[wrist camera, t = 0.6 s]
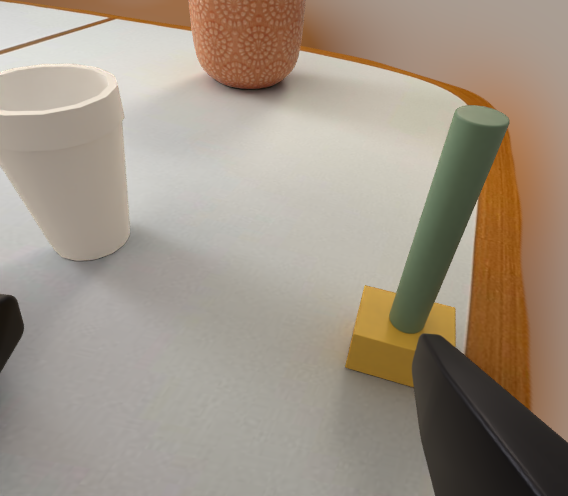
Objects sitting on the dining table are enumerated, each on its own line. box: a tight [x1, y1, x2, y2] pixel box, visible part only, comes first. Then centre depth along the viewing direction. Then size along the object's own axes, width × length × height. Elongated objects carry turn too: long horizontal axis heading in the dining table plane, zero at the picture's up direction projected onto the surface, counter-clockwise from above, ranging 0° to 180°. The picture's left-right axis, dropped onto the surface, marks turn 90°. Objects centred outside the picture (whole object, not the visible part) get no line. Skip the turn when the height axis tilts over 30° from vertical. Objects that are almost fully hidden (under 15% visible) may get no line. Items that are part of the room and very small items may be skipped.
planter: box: [188, 0, 305, 89], centre depth 63 cm, size 17×17×15 cm
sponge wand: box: [345, 105, 509, 387], centre depth 23 cm, size 4×6×17 cm
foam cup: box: [0, 64, 130, 261], centre depth 32 cm, size 10×9×13 cm
